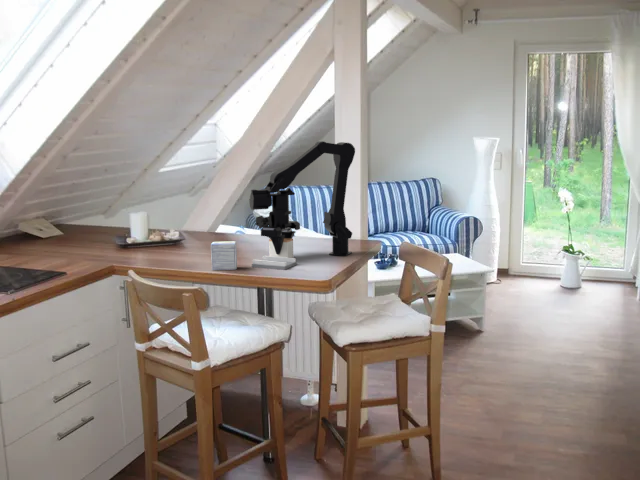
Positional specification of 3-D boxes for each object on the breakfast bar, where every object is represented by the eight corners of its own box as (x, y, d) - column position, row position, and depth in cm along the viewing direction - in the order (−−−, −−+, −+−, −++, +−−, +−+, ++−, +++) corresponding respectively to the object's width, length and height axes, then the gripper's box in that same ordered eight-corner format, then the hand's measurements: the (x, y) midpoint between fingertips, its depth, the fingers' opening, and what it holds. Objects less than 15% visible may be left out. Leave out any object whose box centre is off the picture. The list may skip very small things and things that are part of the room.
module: (275, 257, 239) (275, 237, 238) (293, 258, 236) (293, 238, 235) (269, 259, 235) (269, 239, 234) (287, 260, 232) (287, 240, 231)
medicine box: (237, 267, 223) (236, 241, 222) (236, 270, 219) (235, 243, 217) (213, 267, 223) (212, 241, 221) (211, 270, 219) (210, 243, 217)
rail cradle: (264, 261, 231) (264, 255, 231) (296, 264, 226) (296, 257, 226) (251, 266, 223) (251, 260, 223) (284, 269, 218) (284, 263, 218)
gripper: (272, 204, 244) (273, 247, 247) (246, 210, 228) (247, 256, 230) (300, 205, 240) (300, 249, 243) (275, 212, 223) (276, 258, 226)
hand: (281, 253), depth 235 cm, fingers closed on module, 4 cm apart
